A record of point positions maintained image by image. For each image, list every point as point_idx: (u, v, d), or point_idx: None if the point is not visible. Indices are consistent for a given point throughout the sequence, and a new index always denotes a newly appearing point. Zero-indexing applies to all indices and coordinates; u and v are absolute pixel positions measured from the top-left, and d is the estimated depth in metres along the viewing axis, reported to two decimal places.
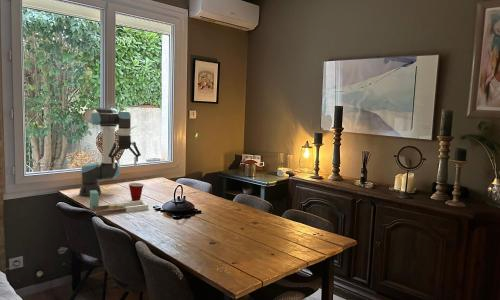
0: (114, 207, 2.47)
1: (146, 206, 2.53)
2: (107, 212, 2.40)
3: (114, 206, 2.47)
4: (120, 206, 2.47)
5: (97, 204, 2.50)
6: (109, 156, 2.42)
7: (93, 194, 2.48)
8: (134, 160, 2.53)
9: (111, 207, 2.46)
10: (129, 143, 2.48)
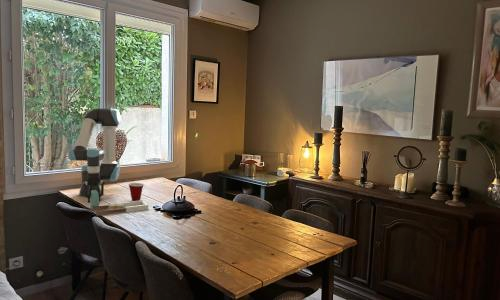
0: (114, 207, 2.47)
1: (146, 206, 2.53)
2: (107, 212, 2.40)
3: (114, 206, 2.47)
4: (120, 206, 2.47)
5: (97, 204, 2.50)
6: (85, 196, 2.48)
7: (93, 194, 2.48)
8: None
9: (111, 207, 2.46)
10: (98, 180, 2.51)
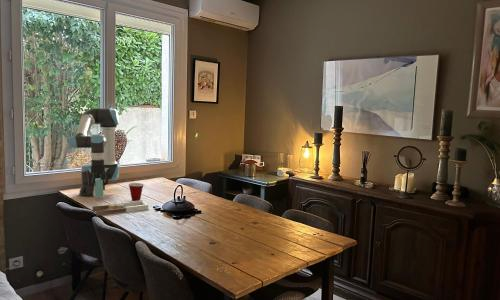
0: (114, 207, 2.47)
1: (146, 206, 2.53)
2: (107, 212, 2.40)
3: (114, 206, 2.47)
4: (120, 206, 2.47)
5: (101, 192, 2.39)
6: (89, 184, 2.37)
7: (97, 182, 2.37)
8: None
9: (111, 207, 2.46)
10: (103, 167, 2.40)
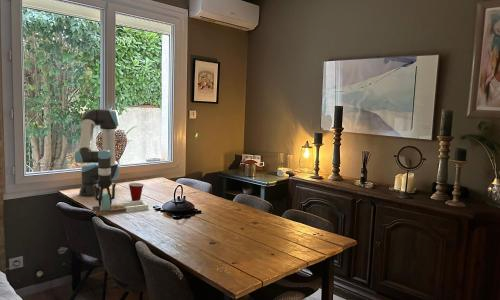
0: (115, 207, 2.47)
1: (146, 206, 2.53)
2: (107, 212, 2.40)
3: (115, 206, 2.47)
4: (120, 206, 2.47)
5: (108, 207, 2.42)
6: (96, 199, 2.40)
7: (104, 197, 2.40)
8: None
9: (112, 207, 2.46)
10: (109, 182, 2.44)
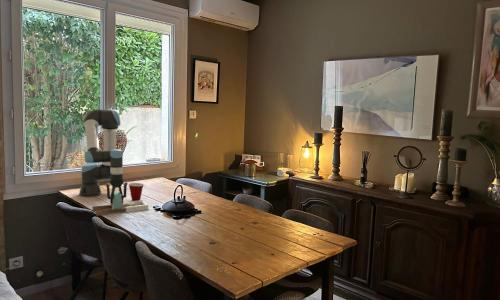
0: (126, 206, 2.50)
1: (146, 206, 2.53)
2: (107, 212, 2.40)
3: (126, 205, 2.50)
4: (131, 205, 2.51)
5: (120, 206, 2.46)
6: (108, 198, 2.44)
7: (116, 196, 2.44)
8: None
9: (123, 206, 2.49)
10: (121, 181, 2.47)
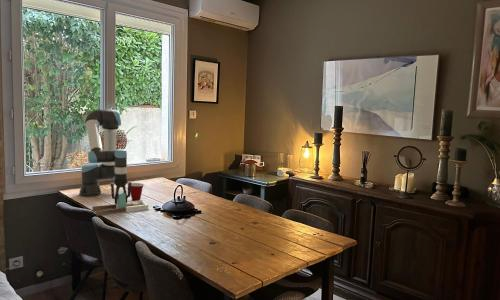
0: (130, 205, 2.52)
1: (146, 206, 2.53)
2: (107, 212, 2.40)
3: (130, 204, 2.52)
4: (136, 204, 2.52)
5: (124, 205, 2.48)
6: (113, 198, 2.46)
7: (120, 195, 2.45)
8: None
9: (127, 205, 2.51)
10: (125, 181, 2.49)
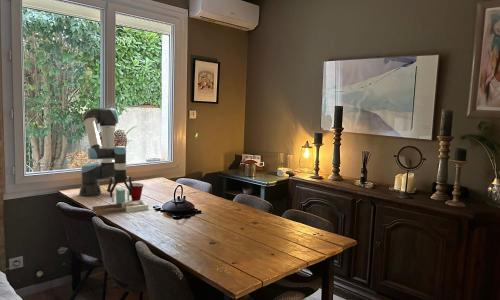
0: (130, 205, 2.52)
1: (146, 206, 2.53)
2: (107, 212, 2.40)
3: (130, 204, 2.52)
4: (136, 204, 2.52)
5: (123, 201, 2.59)
6: (108, 191, 2.55)
7: (120, 191, 2.57)
8: (127, 194, 2.64)
9: (127, 205, 2.51)
10: (125, 176, 2.60)
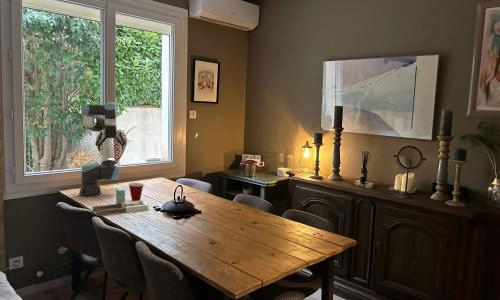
0: (130, 205, 2.52)
1: (146, 206, 2.53)
2: (107, 212, 2.40)
3: (130, 204, 2.52)
4: (136, 204, 2.52)
5: (124, 201, 2.59)
6: (96, 144, 2.61)
7: (120, 191, 2.57)
8: None
9: (127, 205, 2.51)
10: (115, 132, 2.67)
